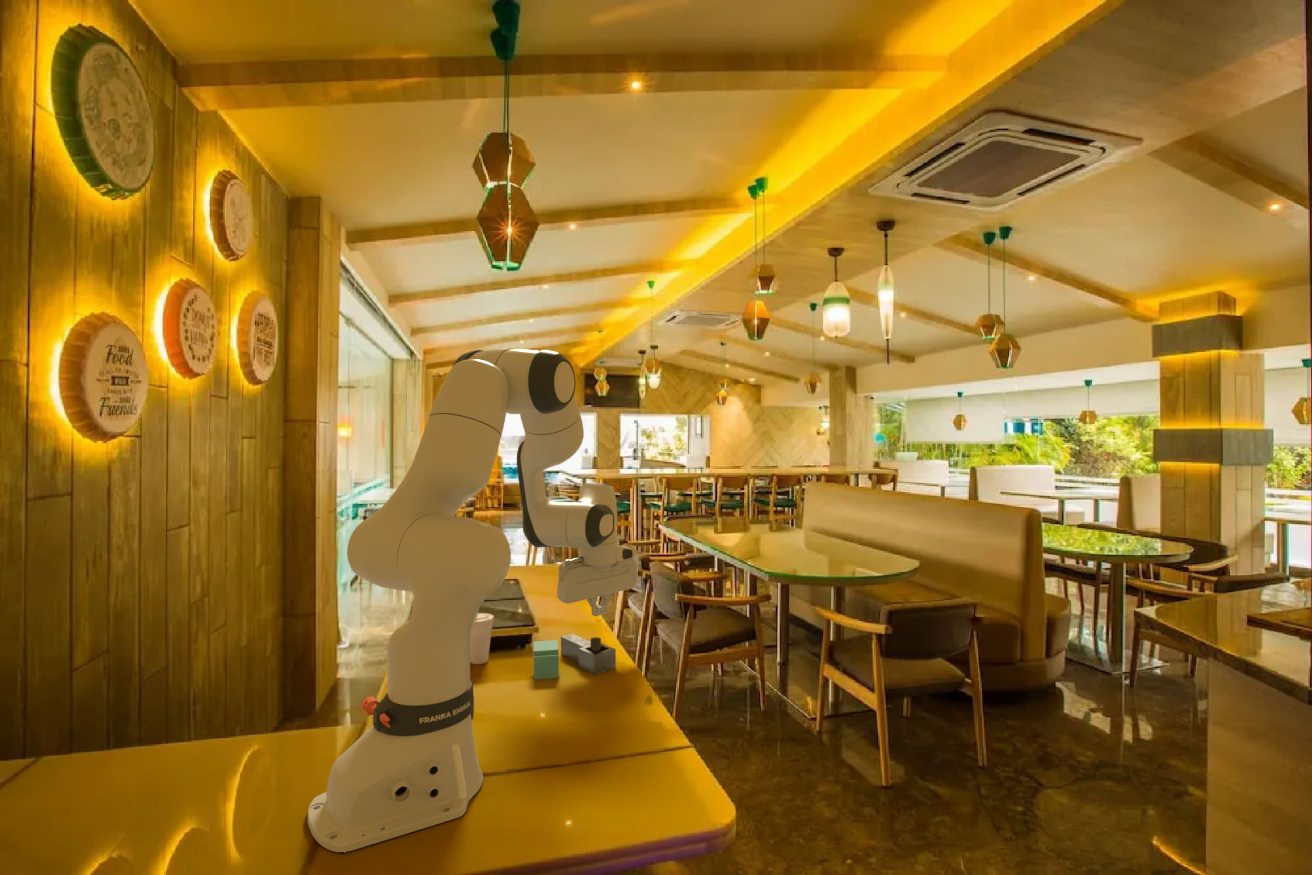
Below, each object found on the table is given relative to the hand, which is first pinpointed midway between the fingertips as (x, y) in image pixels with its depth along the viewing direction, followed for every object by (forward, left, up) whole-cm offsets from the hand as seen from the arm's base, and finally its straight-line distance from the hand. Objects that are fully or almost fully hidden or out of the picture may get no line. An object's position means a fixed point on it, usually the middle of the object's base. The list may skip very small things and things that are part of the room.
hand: (599, 614), depth 143 cm
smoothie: (-22, +14, -9) cm, 28 cm away
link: (-5, -2, -9) cm, 10 cm away
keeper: (-15, -1, -9) cm, 17 cm away
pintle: (-5, -6, -9) cm, 12 cm away
